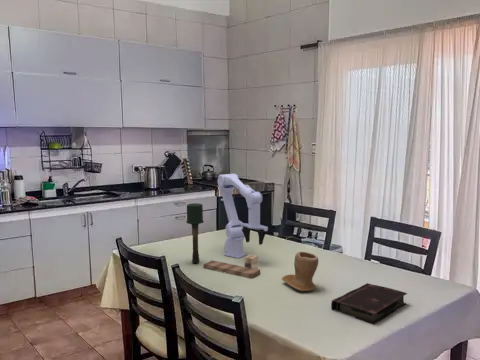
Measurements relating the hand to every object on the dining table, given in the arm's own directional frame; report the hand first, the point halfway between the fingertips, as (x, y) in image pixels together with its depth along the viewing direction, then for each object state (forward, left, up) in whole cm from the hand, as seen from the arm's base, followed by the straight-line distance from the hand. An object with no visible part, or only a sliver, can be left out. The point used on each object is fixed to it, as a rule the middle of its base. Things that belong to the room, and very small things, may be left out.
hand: (254, 243), depth 218 cm
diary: (+65, -22, -11) cm, 70 cm away
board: (-3, -16, -10) cm, 19 cm away
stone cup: (+34, -17, -11) cm, 39 cm away
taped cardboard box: (+4, -9, -10) cm, 15 cm away
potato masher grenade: (-25, -16, -11) cm, 31 cm away
